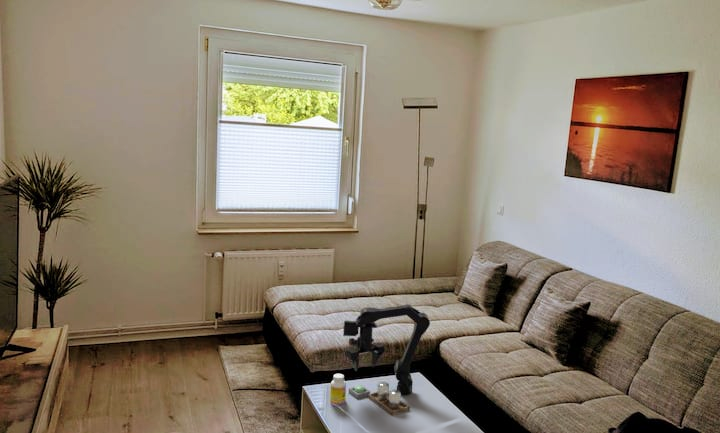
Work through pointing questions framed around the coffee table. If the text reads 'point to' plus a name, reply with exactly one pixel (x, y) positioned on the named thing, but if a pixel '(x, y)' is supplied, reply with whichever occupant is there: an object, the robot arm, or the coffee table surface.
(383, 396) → the cylinder
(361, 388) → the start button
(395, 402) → the cylinder
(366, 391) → the grey square tray
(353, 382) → the coffee table surface
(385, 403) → the wooden tray
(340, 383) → the supplement bottle
